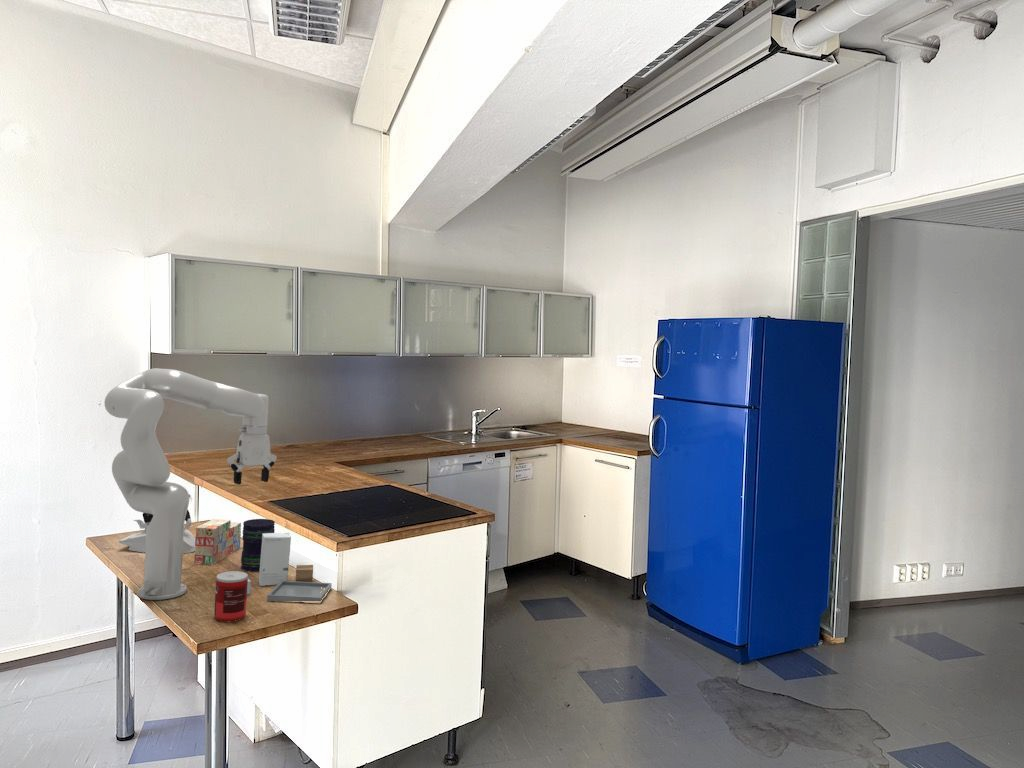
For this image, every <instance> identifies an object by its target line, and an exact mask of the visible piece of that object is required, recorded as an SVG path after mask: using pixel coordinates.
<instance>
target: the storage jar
mask: <svg viewBox="0 0 1024 768" xmlns="http://www.w3.org/2000/svg"><path fill="white" fill-rule="evenodd" d="M275 524H276V523H275V520H273V519H268V518H253V519H248V520H247V519H246V520H245V521H243V527H242V536H241V537H242V551H241V557H240V563H241V566H240V569H241V571H243V570H245V571H244V572H248V571H257V572H256V573H258V571H260V559H261V547H262V534H263V533H275Z"/></svg>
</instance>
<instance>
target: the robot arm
mask: <svg viewBox="0 0 1024 768" xmlns="http://www.w3.org/2000/svg"><path fill="white" fill-rule="evenodd" d="M164 399H167V400H171V401H176V402H179V403H184V404H185V405H186V404H187V405H189V406H190V405H191V406H193V407H197V408H201V409H206V410H214V411H221V412H222V413H224V414H225V415H228V416H232V417H242V425H241V427H239V429H238V432H241V434H240V436H239V437H238V442H237V446H236V453H234V454H232V455H230V456H229V457H227V459H226V461H227V463H228V465H229V468H230V469H232V471H233V483H234V484H236V485H241V484H242V474H243V473H242V472H241V471H242V470H243V468H244V467H256V466H257V467H258V466H261V467H262V468H261V474H260V481H262V482H265V483H268V482H269V478H270V470H271V469H272V467H273V466H274V465H275V463H276V461H277V460H278V459H277V458H278V456H277V455H275V454H274V453H272V452H271V442H270V441H271V440H270V435H269V434H267V430H268V415H269V414H268V413H269V400H270V399H269V396H268V395H267V394H264V393H255V392H251V391H249V390H245V389H242V388H239V387H235V386H231V385H227V384H224V383H220V382H216V381H212V380H209V379H205V378H202V377H200V376H197V375H194V374H191V373H189V372H185V371H182V370H178V369H172V368H158V367H156V368H155V367H154V368H150V369H147V370H145V371H142V372H140V373H138V374H136V375H134V376H133V377H131V378H129V379H127V380H125V381H124V382H122V383H120V384H119V385H117V386H115V387H113V388H112V389H111V390H109V391H108V393H107V394H106V396H105V398H104V403H103V404H104V407H105V410H106V412H107V413H108V414H110V415H111V416H112V417H115V418H119V419H126V422H125V424H124V426H123V429H122V432H121V435H120V444H121V445H120V446H121V448H122V450H120V451H119V452H118V453H117V454H116V455H115V457H114V458H113V461H112V464H111V473H112V476H113V479H114V481H115V483H116V485H117V487H118V489H119V491H120V492H121V494H122V495H123V498H124V499H125V501H126V503H127V504H128V506H129V507H130V508H131V509H132V510H134V511H136V512H138V513H142V514H143V513H148V514H152V515H153V518H152V520H151V522H150V524H149V526H148V528H147V532H146V549H145V553H144V555H145V556H144V567H143V568H144V571H143V572H144V573H143V586H141V587H139V588H138V589H137V590H136V596H137V597H138V598H139V599H142V600H146V601H147V600H149V601H158V600H159V601H161V600H167V599H174V598H177V597H181V596H182V595H185V594H186V593H187V590H188V589H187V588H188V587H187V585H186V584H184V583H182V570H183V555H184V554H183V536H184V528H185V523H186V521H185V517H186V512H187V509H188V510H189V504H190V494H189V492H188V490H187V489H186V487H184V486H183V485H181V484H179V483H176V482H171V481H168V480H169V478H170V476H171V468H170V467H171V466H170V464H169V461H168V458H167V456H166V455H165V452H164V451H163V449H162V447H161V445H160V443H159V440H158V437H157V433H156V429H157V425H158V423H159V420H160V418H161V416H162V414H163V412H164V410H165V401H164ZM234 461H235V462H234ZM235 463H236V464H235Z"/></svg>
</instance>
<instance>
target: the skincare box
mask: <svg viewBox="0 0 1024 768" xmlns="http://www.w3.org/2000/svg"><path fill="white" fill-rule="evenodd" d="M291 541H292V536H291V534H290V533H289V532H287V533H286V532H274V533H263V534H262V547H261V559H260V571H259V573H258V583H259V587H265V586H266V585H267V586H277V585H278V584H279V583H280V582H281V581H288V579H289V578H288V575H289V564H290V555H291V554H290V553H291V544H292V542H291Z"/></svg>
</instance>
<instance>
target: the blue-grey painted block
mask: <svg viewBox="0 0 1024 768" xmlns="http://www.w3.org/2000/svg"><path fill="white" fill-rule="evenodd" d="M251 583H252V581H251V580H250V579H249V578H248V585H247V594H248V595H251V587H252V586H251V585H252V584H251Z"/></svg>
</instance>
